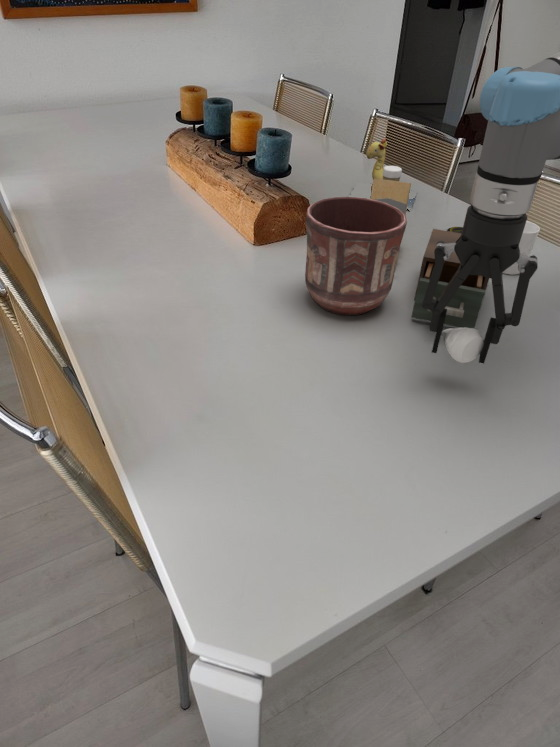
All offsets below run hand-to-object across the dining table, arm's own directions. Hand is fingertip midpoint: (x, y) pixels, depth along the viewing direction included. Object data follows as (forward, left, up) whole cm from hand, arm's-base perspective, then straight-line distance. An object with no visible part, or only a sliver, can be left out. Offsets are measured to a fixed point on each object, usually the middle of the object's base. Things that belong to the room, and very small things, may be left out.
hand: (458, 353), depth 84 cm
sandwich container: (+20, -42, -6) cm, 47 cm away
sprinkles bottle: (+23, -64, -6) cm, 68 cm away
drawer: (+3, -21, -5) cm, 22 cm away
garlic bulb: (0, 0, -1) cm, 1 cm away
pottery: (+22, -19, -6) cm, 30 cm away
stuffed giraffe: (+27, -81, -6) cm, 86 cm away
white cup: (-8, -48, -6) cm, 49 cm away
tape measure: (+3, -55, -6) cm, 55 cm away
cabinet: (+3, -32, -6) cm, 32 cm away
